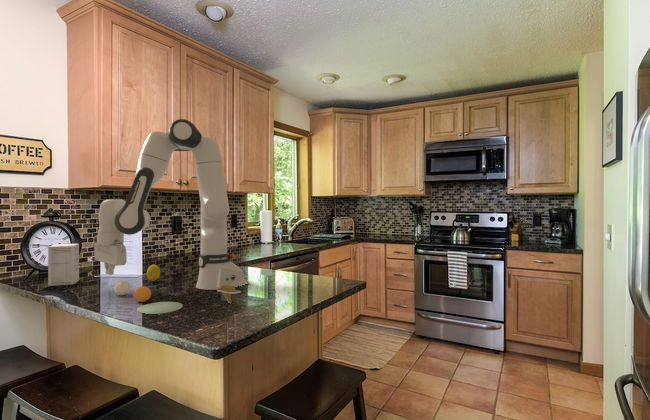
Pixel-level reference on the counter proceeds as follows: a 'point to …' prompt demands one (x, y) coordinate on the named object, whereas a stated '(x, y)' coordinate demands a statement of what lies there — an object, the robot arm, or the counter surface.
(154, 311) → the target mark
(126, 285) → the cue ball
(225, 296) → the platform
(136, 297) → the object ball
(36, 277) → the counter surface
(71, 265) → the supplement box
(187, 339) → the counter surface
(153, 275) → the lemon
